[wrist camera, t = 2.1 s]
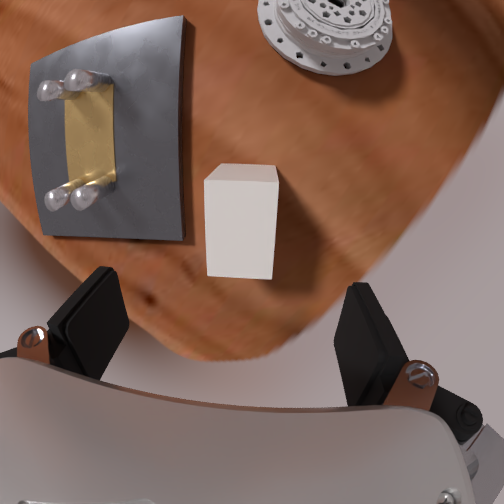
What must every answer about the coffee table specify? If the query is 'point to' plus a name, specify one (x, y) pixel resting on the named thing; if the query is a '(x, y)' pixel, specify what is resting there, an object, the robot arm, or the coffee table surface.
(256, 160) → the coffee table surface
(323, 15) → the mechanical component
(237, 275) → the jaw block
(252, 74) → the coffee table surface
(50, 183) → the base plate
